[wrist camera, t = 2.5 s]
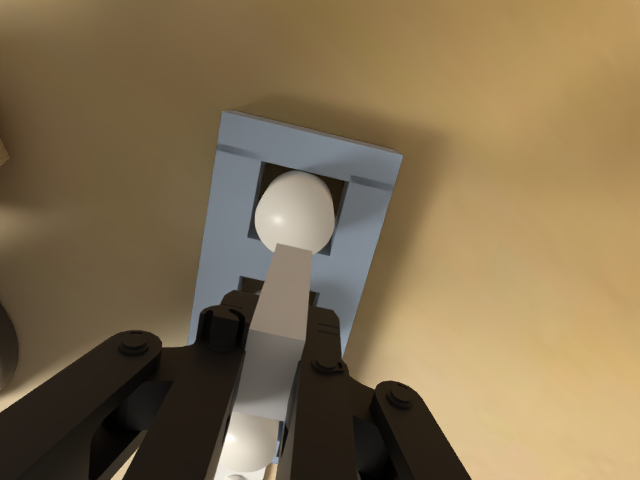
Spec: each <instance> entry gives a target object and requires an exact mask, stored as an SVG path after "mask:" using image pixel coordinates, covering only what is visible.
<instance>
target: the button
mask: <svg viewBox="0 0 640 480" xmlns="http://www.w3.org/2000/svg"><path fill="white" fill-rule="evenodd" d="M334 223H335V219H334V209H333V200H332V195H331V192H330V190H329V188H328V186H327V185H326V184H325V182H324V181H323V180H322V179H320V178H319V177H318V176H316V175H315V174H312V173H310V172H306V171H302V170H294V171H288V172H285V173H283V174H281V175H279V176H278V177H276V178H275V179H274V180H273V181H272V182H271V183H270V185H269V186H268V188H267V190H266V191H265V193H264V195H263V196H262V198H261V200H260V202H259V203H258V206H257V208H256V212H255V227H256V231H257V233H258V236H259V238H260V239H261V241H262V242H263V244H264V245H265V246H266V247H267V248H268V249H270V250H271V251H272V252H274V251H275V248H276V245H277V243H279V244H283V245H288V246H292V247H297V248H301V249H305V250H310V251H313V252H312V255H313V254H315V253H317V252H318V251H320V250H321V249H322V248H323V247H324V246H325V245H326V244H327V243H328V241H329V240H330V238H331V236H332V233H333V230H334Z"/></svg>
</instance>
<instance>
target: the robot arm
mask: <svg viewBox="0 0 640 480" xmlns="http://www.w3.org/2000/svg"><path fill="white" fill-rule="evenodd" d="M312 252H313V251H310V250H305V249H301V248H297V247H292V246H288V245H283V244H279V243H277V245H276V248H275V251H274V254H273V257H272V260H271V263H270V266H269V269H268V272H267V275H266V279H265V282H264V285H263V288H262V291H261V294H260V295H256V294H252V293H247V292H242V291H238V290H232V291H231V292H229V293H227V294H225V295H224V297H223V299H222V301H221V303H220V305H213V306H210V307H207V308H204V309H203V310H202V311H201V312H200V315H199V322H198V328H197V334H196V340H195V342H194V344H192V345H188V346H184V347H166V348H162V341H161V340H160V339H159V337H158V336H156V335H154V334H152V333H150V332H146V331H141V330H130V331H125V332H120V333H118V334H116V335H114V336H111V337H110V338H108V339H107V340H105V341H104V342H103V343H101V344H100V345H98V346H97V347H95V348H94V349H92V350H91V351H89V352H88V353H87V354H85V355H84V356H82V357H81V358H79V359H78V360H76V361H75V362H73V363H72V364H70V365H69V366H68V367H66V368H65V369H63V370H62V371H60V372H59V373H57V374H56V375H54V376H53V377H52V378H50V379H49V380H47V381H46V382H44V383H43V384H41V385H40V386H38V387H37V388H35V389H34V390H33V391H31V392H30V393H28V394H27V395H25V396H24V397H22V398H21V399H19V400H18V401H17V402H15V403H14V404H12V405H11V406H9V407H8V408H6V409H5V410H3V411H2V412H1V413H0V480H110V479H111V478H112V477H113V476H114V475H115V474H116V472H117V471H118V470H119V469H120V468H121V467H122V466H123V465H124V463H125V462H126V461H127V460H128V459H129V458H130V457H131V455H132V454H133V453H134V452H135V451H136V450H137V449H138V447H139V446H140V447H139V449H138V450H137V452H136V454H135V456H134V458H133V460H132V462H131V464H130V466H129V468H128V469H127V471H126V473H125V475H124V477H123V479H122V480H214V477H215V474H216V470H217V467H218V463H219V460H220V456H221V453H222V449H223V446H224V442H225V439H226V435H227V432H228V428H229V424H230V420H231V415H232V411H234V412H239V413H244V414H249V415H254V416H259V417H264V418H270V419H275V420H280V421H285V417H286V421H285V425H284V428H283V432H282V436H281V440H280V444H279V447H278V451H277V455H276V457H279V459H278V467H277V474H276V480H472V479H471V478H470V476H469V474H468V473H467V471H466V469H465V468H464V466H463V465H462V463H461V461H460V460H459V458H458V456H457V455H456V453H455V451H454V450H453V448H452V447H451V445H450V443H449V442H448V440H447V438H446V437H445V435H444V433H443V432H442V430H441V429H440V427H439V425H438V424H437V422H436V420H435V419H434V417H433V415H432V414H431V412H430V411H429V409H428V407H427V406H426V404H425V402H424V401H423V399H422V398H421V397H420V396H419V394H418V393H417V392H416V391H414V390H413V389H412V388H410V387H409V386H407V385H405V384H402V383H400V382H395V381H383V382H381V383H379V384H378V385H377V386H376V389H375V390H374V389H372V388H370V387H367V386H365V385H363V384H361V383H359V382H357V381H356V380H354V379H353V378H352V377H350V375H349V370H348V368H347V365H346V364H345V363H344V362H343V360H342V351H341V336H340V321H339V318H338V316H337V315H336V313H335V312H334V311H333V310H331V309H326V308H322V307H317V306H312V305H308V302H309V290H310V277H311V265H312ZM17 356H18V348H17V340H16V336H15V332H14V329H13V327H12V324H11V322H10V320H9V318H8V316H7V314H6V313H5V311H4V310H3V308H2V307H1V305H0V391H1V390H2V389H3V388H4V387H5V386H6V384H7V383H8V382H9V380H10V379H11V377H12V375H13V373H14V371H15V367H16V364H17Z"/></svg>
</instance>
